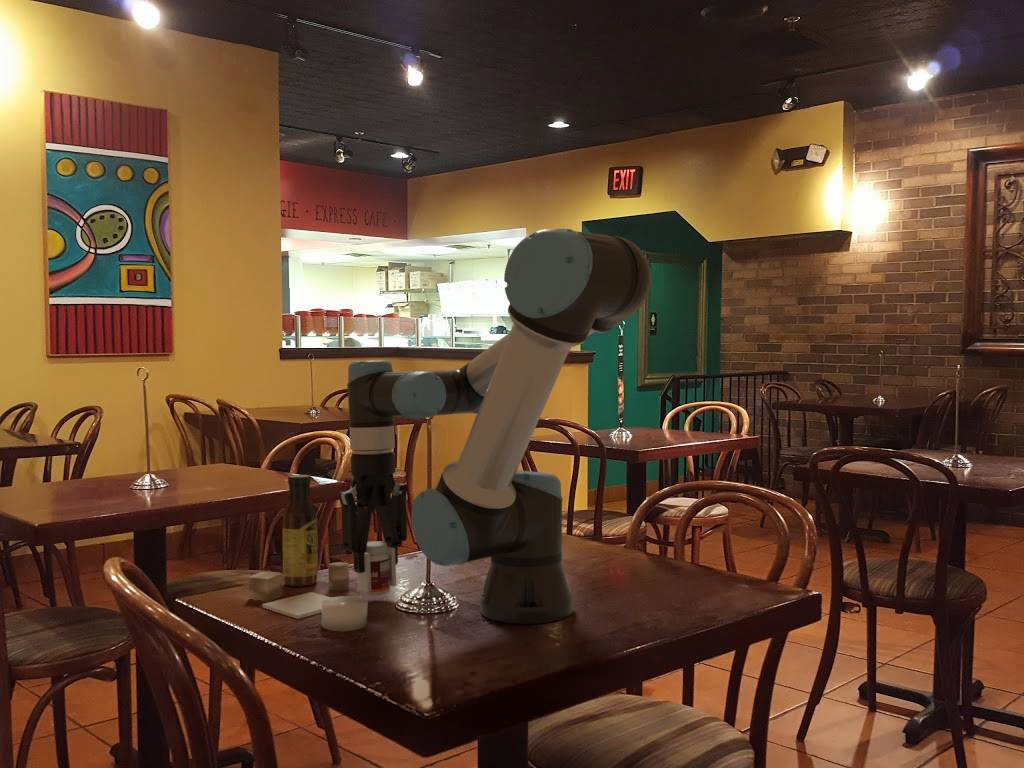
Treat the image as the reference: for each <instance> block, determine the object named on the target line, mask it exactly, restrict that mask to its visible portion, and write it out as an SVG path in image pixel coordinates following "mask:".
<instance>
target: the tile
mask: <svg viewBox="0 0 1024 768" xmlns="http://www.w3.org/2000/svg"><path fill="white" fill-rule="evenodd" d="M328 598H332V596H331V597H330V596H327V595H325V594H324V595H323V594H319V593H317V592H313V591H310V592H306V593H302V594H298V595H294V596H289V597H285V598H281V599H276V600H274V601H273V600H272V601H269V602H265V603H262V604H261V608H262V607H263V609H265V608H266V609H265V610H268V609H269V611H271V610H272V612H275V613H278V614H282V615H284V616H287V617H290V618H294V619H297V620H300V619H303V618H306V617H310V616H314V615H318V614H322V602H323V601H324V600H325V599H328Z"/></svg>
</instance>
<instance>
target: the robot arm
mask: <svg viewBox="0 0 1024 768" xmlns="http://www.w3.org/2000/svg"><path fill="white" fill-rule="evenodd" d="M651 280H652V273H651V268H650V264H649V262H648V259H647V257H646V256H645V254H644V252H643V250H641V249H640V247H638V246H637V245H636V244H634V242H632V241H631V240H629V239H627V238H624V237H621V236H618V235H613V234H611V235H610V234H601V233H593V232H584V231H576V230H573V229H572V228H555V229H551V228H549V229H540V230H536V231H535V232H532V233H530V234H528V235H526V236H525V237H524V238H523V239H521V240H520V242H519V243H517V244H516V245H515V247H514V249H513V250H512V251H511V254H510V255H509V258H508V259H507V263H506V265H505V269H504V277H503V282H505V283H506V287H504V292H505V296H506V299H507V300H508V302H509V305H508V308H507V313H508V315H509V317H510V320H511V322H512V327H511V329H510V332H508V333H507V334H506V335H504V336H503V337H501V338H500V339H499V340H497V341H496V342H495V343H494V344H492V345H491V346H490V347H488V348H486V349H485V350H484V351H482V352H481V353H479V354H478V355H477V356H475V357H474V358H473V359H472V360H470V361H469V362H468V363H465V364H464V365H463V366H462V367H460V368H458V369H444V370H443V369H442V370H422V369H421V370H410V371H408V370H407V371H393V364H392V363H391V361H389V360H363V361H362V360H359V361H357V360H356V361H352V362H351V363H350V364H348V369H347V371H348V373H347V374H348V375H347V385H346V387H347V397H348V398H347V401H348V421H349V445H350V446H349V448H350V450H351V451H353V453H351V454H350V474H351V475H352V478H353V479H352V484H351V486H350V487H351V488H349V489H348V490H346V491H340V492H338V494H337V495H338V499H339V503H340V507H341V534H342V536H341V537H342V549H343V551H347V552H350V553H352V556H353V571H354V572H355V573H356V582H357V584H356V586H357V587H356V588H357V591H358V592H362V591H363V592H367V593H368V592H371V567H370V553H367V552H366V548H367V542H369V533H370V527H371V522H372V521H371V520H372V515H373V514H374V512H375V509H376V510H377V515H378V518H379V523H380V527H381V531H382V535H383V542H385V543H386V545H387V551H386V552H385V553H387V554H388V555H389V572H390V587H391V586H392V587H395V586H397V569H396V568H397V565H398V563H399V551H398V548H400V547H402V546H403V542H405V541H407V539H408V531H407V528H408V527H407V503H406V502H407V500H406V498H407V493H408V489H409V487H408V484H405V483H397V482H396V480H395V478H394V474H395V472H396V454H395V453H394V452H395V451H393V450H394V448H395V447H396V444H395V443H396V441H395V440H396V439H395V419H394V418H404V419H405V418H406V419H407V418H409V419H413V420H417V419H427V418H433V417H434V416H446V415H460V414H461V415H462V414H464V415H465V414H476V416H475V418H474V421H473V423H472V426H471V428H470V431H469V433H468V436H467V439H466V440H465V444H464V445H463V448H462V451H461V453H460V455H459V458H458V460H454V461H451V462H448V464H446V465H445V467H444V468H443V470H442V473H441V475H440V478H439V480H438V483H437V485H436V487H435V488H427V489H425V490H424V491H422V492H420V493H419V494H417V496H416V497H415V498H414V500H413V503H412V506H411V513H410V514H411V515H410V517H411V518H410V519H411V527H412V528H411V529H412V531H413V535H414V540H415V541H416V544H417V546H418V548H419V550H420V551H421V552H422V553H423V555H424V556H425V557H426V558H427V559H428V560H429V561H431V562H432V563H433V564H435V565H438V566H441V567H442V566H443V567H447V566H448V567H449V566H455V565H456V566H463V565H465V564H467V563H471V562H476V561H479V560H483V559H484V560H485V559H487V558H490V565H489V569H488V573H487V575H486V579H485V583H484V587H483V591H482V593H480V594H481V595H480V598H479V602H480V604H479V607H480V608H479V609H480V610H479V611H480V614H481V615H482V616H484V617H485V618H487V619H489V620H493V621H496V622H501V623H506V624H507V623H508V624H521V625H522V624H523V625H526V624H527V625H528V624H529V625H531V624H532V625H533V624H543V623H545V624H546V623H551V622H557V621H559V620H563V619H566V618H568V617H569V616H571V615H572V613H573V611H574V608H573V607H574V606H573V604H574V603H573V596H572V593H571V592H570V588H569V584H568V580H567V578H566V574H565V571H564V568H563V564H562V563H563V561H562V560H563V559H562V557H563V556H562V555H563V554H562V551H563V550H562V549H563V538H562V537H563V536H562V535H563V499H564V497H562V483H561V481H560V479H559V478H558V476H556V475H555V474H553V473H547V472H539V471H532V470H531V471H530V470H519V469H518V468H519V466H520V464H521V462H522V459H523V458H524V455H525V453H526V451H527V449H528V447H529V443H530V441H531V438H532V437H533V434H534V432H535V430H536V428H537V425H538V423H539V420H540V418H541V416H542V414H543V412H544V408H545V407H546V405H547V402H548V400H549V398H550V395H551V393H552V390H553V389H554V386H555V384H556V381H557V379H558V377H559V375H560V372H561V371H562V368H563V366H564V363H565V361H566V359H567V357H568V355H569V352H570V349H572V348H575V347H577V346H580V345H582V344H585V342H586V340H587V339H588V337H590V335H592V334H594V333H599V334H601V333H602V334H604V333H607V332H609V331H611V330H612V329H615V327H617V326H619V325H620V324H622V323H623V322H624V321H626V320H627V319H629V318H630V317H632V316H633V315H634V314H635V313H637V311H638V310H639V309H640V308H641V307H642V305H643V304H645V301H646V299H647V297H648V295H649V292H650V289H651V284H652V281H651Z"/></svg>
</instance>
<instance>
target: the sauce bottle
mask: <svg viewBox="0 0 1024 768" xmlns="http://www.w3.org/2000/svg"><path fill="white" fill-rule="evenodd" d="M311 482H312V480H311V475H310V474H294V475H288V477H287V483H288V488H289V489H288V492H289V493H288V494H289V495H288V500H289V501H288V503H287V505H286V506H285V507H284V510H283V514H282V521H283V522H282V576H283V583H284V585H286V586H288V587H306V586H310V585H314V584H316V583H317V580H318V574H319V573H318V572H319V563H318V562H319V560H318V559H319V558H318V556H319V555H318V553H319V552H318V551H319V550H318V549H319V548H318V516H317V513H316V511H315V508H314V506H313V503H312V500H311V493H310V491H311V489H310V488H311V484H312V483H311Z"/></svg>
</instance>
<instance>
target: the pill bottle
mask: <svg viewBox="0 0 1024 768" xmlns="http://www.w3.org/2000/svg"><path fill="white" fill-rule="evenodd" d="M386 551H387V545H386V543H385V541H380V540H379V541H367V548H366V552H367V553H370V567H371V592H368V593H367V592H363V591H361V592H362V594H363V595H366V596H376V597H377V596H383V595H386V594H388V593H390V591H391V586H390V572H389V555H388V554H387V553H385V552H386Z"/></svg>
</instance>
